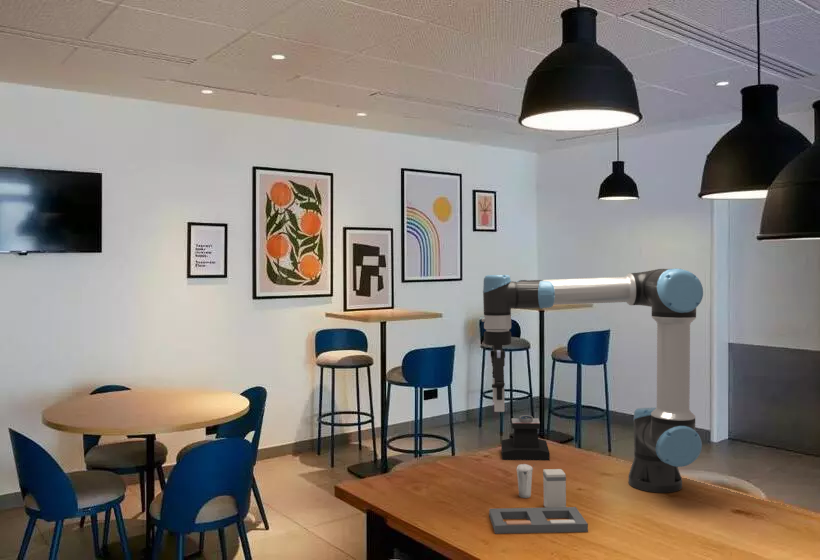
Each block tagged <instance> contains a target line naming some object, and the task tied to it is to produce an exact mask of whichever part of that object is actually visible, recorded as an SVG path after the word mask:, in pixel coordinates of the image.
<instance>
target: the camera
mask: <svg viewBox="0 0 820 560" xmlns="http://www.w3.org/2000/svg"><path fill="white" fill-rule="evenodd" d="M511 429H513V432H512V434H513V435H512V438H506V439H502V440H500V441H501V443H500V444H501V458H502V461H542V462H543V461H546V462H547V461H550V458H551V457H550V454H551V453H550V449H549V446H548V443H547V440H545V439H541V438H539V435H538V434H539V433H538V430H540V429H541V422H540V418H539V417H537V418H534V417H533V416H532V415H530V414H529V415H527V414H525V415H523V414H522V415H519V418H518V417H513V418H511Z"/></svg>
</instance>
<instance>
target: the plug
mask: <svg viewBox="0 0 820 560" xmlns="http://www.w3.org/2000/svg"><path fill="white" fill-rule="evenodd" d="M566 475H567V474H566V473H565V472H564V470H563V469H562V468H552V469H551V468H549V469H548V468H545V469H544V468H543V471H542V476H543V478H542V479H543V480H542V481H543V482H542V483H543V506H544V507H543V508H548V507H567V486H566V483H567V476H566Z"/></svg>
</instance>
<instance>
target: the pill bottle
mask: <svg viewBox="0 0 820 560" xmlns="http://www.w3.org/2000/svg"><path fill="white" fill-rule="evenodd" d="M534 467H535V465H533V466H531V465H530V464H526V463H523V464H522V463H521V464H518V465H517V466H516V476H517V488H518V489H517V490H518V496H519V497H520V498H522V499H528V498H531V495H532V482H533V481H532V480H533V469H534Z"/></svg>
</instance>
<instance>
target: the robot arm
mask: <svg viewBox="0 0 820 560" xmlns="http://www.w3.org/2000/svg"><path fill="white" fill-rule="evenodd" d="M482 287H483V290H482V293H483V294H482V296H483V297H482V299H483V318H481V322H482V323H483V329H484V330H485V331H484V332H483V343H484V345H486V346H491V348H492V350H490V359H491V366H492V371H491V373H492V384H491V388H492V402H494V403H493V406H494V408H493V411H494V413H495V412H496V413H503V412H506V411H505V370H504V367H505V365H506V363H505V362H506V361H505V359H506V351H505V350H503V346H509V345H511V344H512V332H511V329H512V314H511V313H512V309H515V310H516V309H540V310H542V309H550V308H553V306H554V305H575V304H576V305H578V304H579V305H580V304H582V305H584V304H608V303H609V304H610V303H611V304H612V303H613V304H615V303H626V304H627V305H629V306H646V307H651V318H652V319H653V320H654V321H655V322H656V324H657V328H656V329H657V330H656V332H657V333H656V407H640V408H639V407H638V408H636V409H635V410H634V412H633V419H632V420H633V443H634V444H633V447H634V448H633V451H634V452H633V453H634V454H633V455H634V457H633V460H632V464H631V466H630V470H629V473H628V484H629V486H630V487H633V488H634V489H636V490H637V489H638V490H640V491H645V492H651V493H659V494H660V493H661V494H662V493H674V492H678V491H680V490H681V489H682V488H683V478H682V476H681V473H680V469H679V468H682V467H687V466H690V465H691V464H693V463H694V462H695V461H696V460H697V459H698V458H699V456H700V454H701V453H702V447H703V442H702V438H701V437H700V434H699V433H698V431H696V415H695V414H694V413H693V412H692V411H691V410H690V409H691V408H690V386H691V385H690V384H691V383H690V382H691V381H690V380H691V379H690V377H691V376H690V375H691V373H690V372H691V371H690V370H691V367H690V366H691V363H690V362H691V323H692V322H693V321H695V320H696V319H697V307H699V305H700V304H701V303H702V301H703V297H704V287H703V284H702V282H701V280H700V279H699V278H698V277H697V275H695V273H693V272H691V271H689V270H686V269H684V268H683V269H682V268H676V267H675V268H657V269H651V270H647V271H640V272H639V271H638V272H628V273H627V274H626V275H625V276H609V277H608V276H607V277H604V276H603V277H585V278H584V277H580V278H578V277H577V278H556V279H555V278H554V279H530V280H528V279H520V280H518V281H512V280H511V276H510V275H509V274H487V275H485V276H484V278H483V286H482Z"/></svg>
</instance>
